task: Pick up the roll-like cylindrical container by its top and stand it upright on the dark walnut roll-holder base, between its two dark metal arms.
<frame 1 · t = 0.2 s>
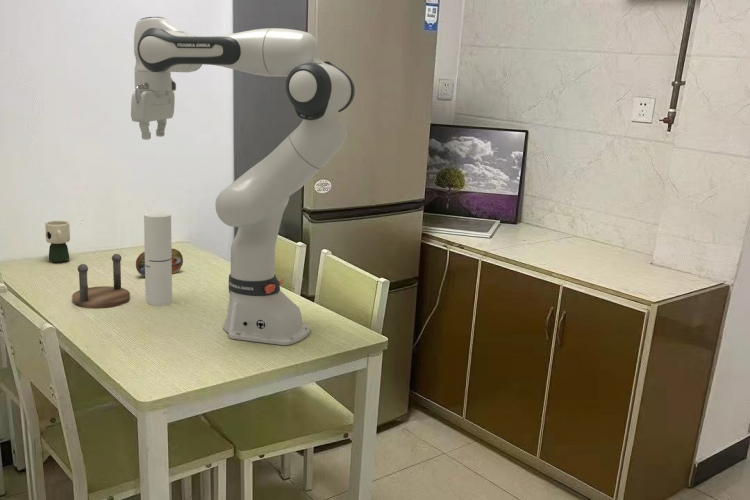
hand: (153, 137, 180), 46 cm above the table, fingers open, 8 cm apart
tin: (159, 275, 220), on the table
character mug: (59, 261, 227), on the table
roll holder: (101, 299, 193), on the table
cylindrical container: (158, 301, 195), on the table
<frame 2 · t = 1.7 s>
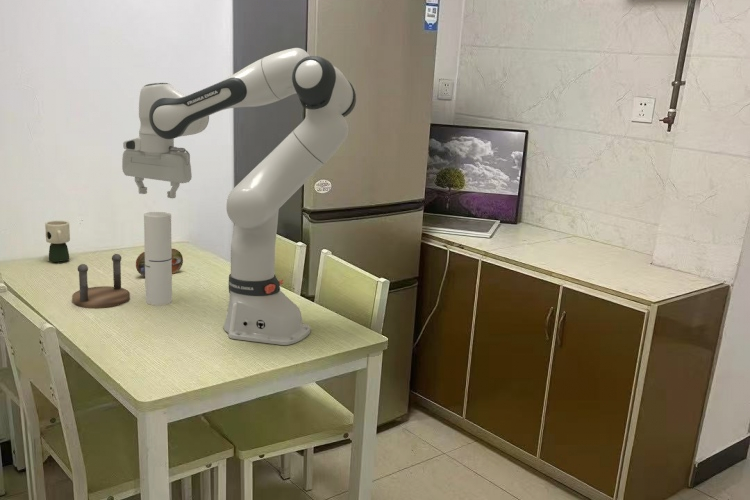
hand: (157, 195, 188), 30 cm above the table, fingers open, 8 cm apart
nothing on the table moved.
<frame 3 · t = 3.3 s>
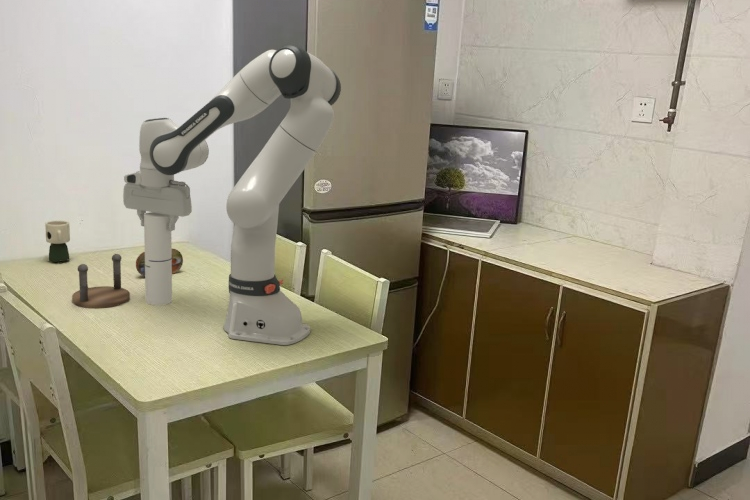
hand: (157, 228, 190), 21 cm above the table, fingers closed on cylindrical container, 7 cm apart
cylindrical container: (158, 301, 195), on the table, touching gripper
everything else where it was.
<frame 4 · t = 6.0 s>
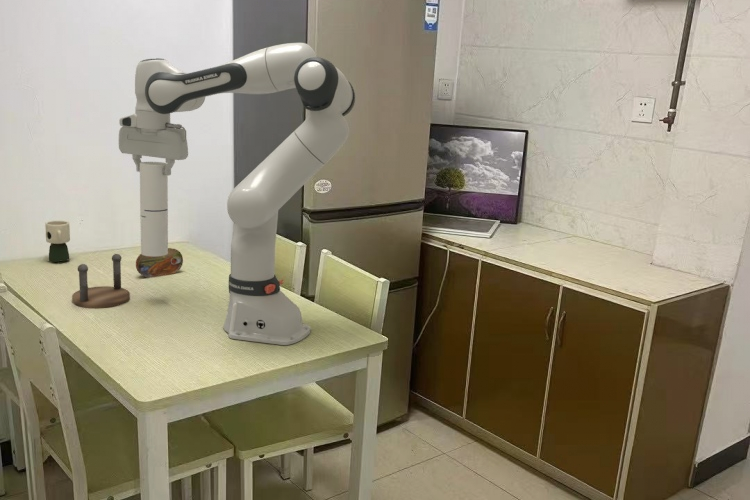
hand: (153, 173, 186), 36 cm above the table, fingers closed on cylindrical container, 7 cm apart
cylindrical container: (154, 253, 192), point 14 cm above the table, touching gripper
everything else where it was.
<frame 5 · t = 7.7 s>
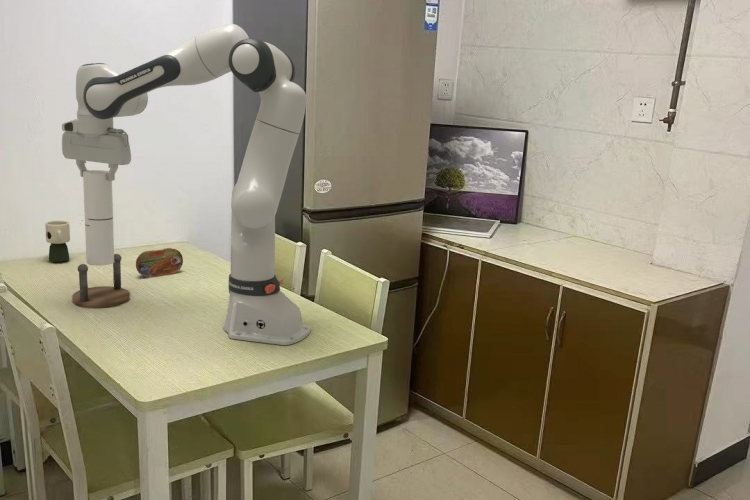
hand: (97, 178, 185), 34 cm above the table, fingers closed on cylindrical container, 7 cm apart
cylindrical container: (100, 262, 191), point 11 cm above the table, touching gripper
everything else where it was.
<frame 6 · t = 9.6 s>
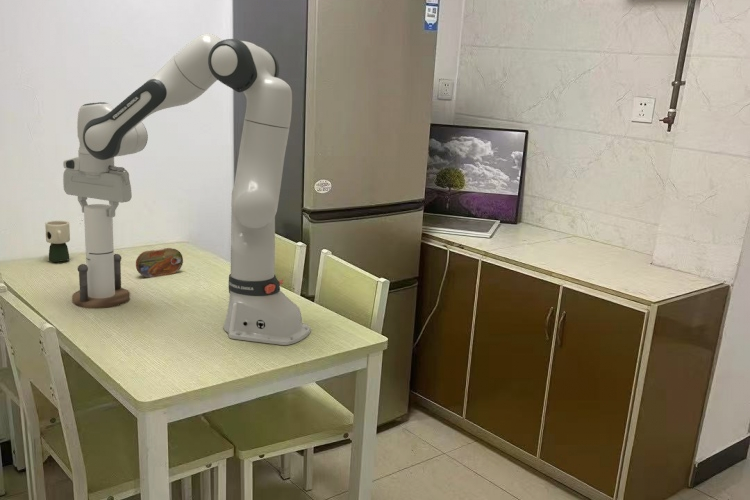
hand: (98, 214, 187), 24 cm above the table, fingers closed on cylindrical container, 7 cm apart
cylindrical container: (101, 295, 193), point 1 cm above the table, touching gripper, roll holder
everything else where it was.
when the fingers open (24 cm above the table, at t = 10.0 s): cylindrical container stays where it is, resting on roll holder.
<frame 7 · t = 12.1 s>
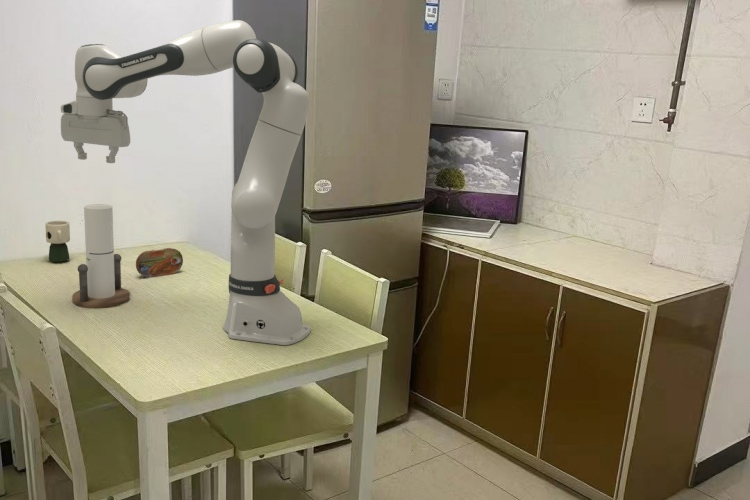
hand: (96, 161, 184), 39 cm above the table, fingers open, 8 cm apart
cylindrical container: (101, 295, 193), point 1 cm above the table, touching roll holder
everything else where it was.
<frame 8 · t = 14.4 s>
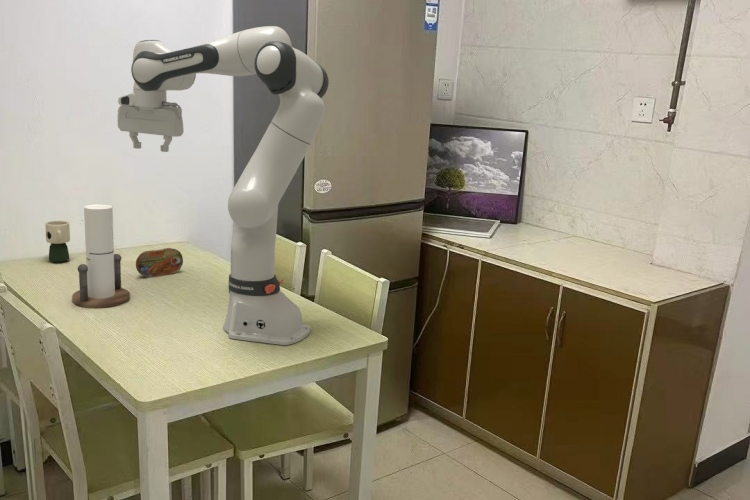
hand: (150, 150, 196), 41 cm above the table, fingers open, 8 cm apart
nothing on the table moved.
at the end: cylindrical container 0.1 cm off-centre on the roll holder, point 1.3 cm above the roll holder's base; cylindrical container tilted 0°; the gripper is holding nothing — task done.
